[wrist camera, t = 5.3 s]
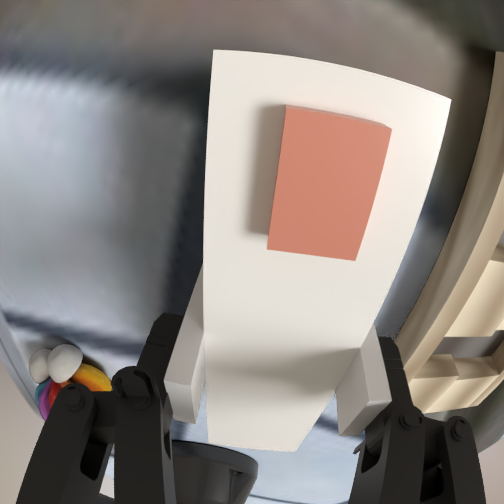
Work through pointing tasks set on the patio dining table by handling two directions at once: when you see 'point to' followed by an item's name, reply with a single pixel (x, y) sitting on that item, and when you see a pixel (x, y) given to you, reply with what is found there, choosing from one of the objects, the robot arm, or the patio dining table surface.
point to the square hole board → (464, 287)
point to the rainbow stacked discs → (62, 374)
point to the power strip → (302, 231)
